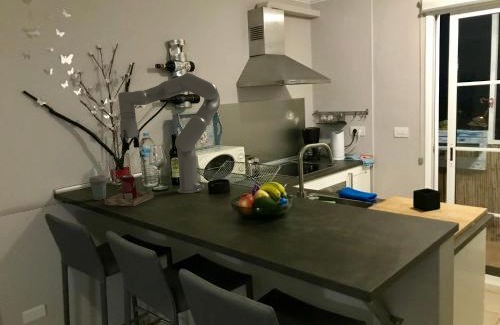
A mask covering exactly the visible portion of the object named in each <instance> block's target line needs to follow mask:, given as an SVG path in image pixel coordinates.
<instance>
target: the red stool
mask: <svg viewBox="0 0 500 325" xmlns="http://www.w3.org/2000/svg"><path fill="white" fill-rule="evenodd" d="M120 182H121V184H120V185H121V193H122V194H123V199H126V200H134V199H136V198H137V192H138V191H137V184H136V177H134V174H125V175H122V178H121V179H120Z"/></svg>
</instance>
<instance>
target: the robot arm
mask: <svg viewBox="0 0 500 325" xmlns="http://www.w3.org/2000/svg"><path fill="white" fill-rule="evenodd" d="M186 92H189V93H191V94H194V95H196V96H199V97H200V98H203V103H202V104H201V106H200V107H199V108H198V110H197V111H196V112H195V114H194V115H193V116H192V117H191V118H190V119H189V120H188V122H187V123H186V124H185V125H184V127H183V128H182V130H181V131H180V133H179V134H178V135H177V136H176V137H175V141H174V142H175V143H174V145H175V147H176V149H177V150H176V151H177V165H178V177H179V178H178V179H179V188H178V189H177V193H179V194H194V193H198V192H200V191H201V190H202V189H205V183H202V184H201V183H200V181H198V171H197V170H198V168H197V154H196V144H197V143H198V141H199V140H200V139H201V137H202V136H203V135H204V133H205V131H206V130H207V126H208V125H209V123H210V122H211V121H212V120H213V118H214V116H215V115H216V114H217V112H218V110H219V108H220V104H221V98H220V94H219V91H218V87H217V86H216V84H214V83H212V82H210V81H208V80H206V79H204V78H201V77H199V76H197V75H195V74H193V73H189V72H186V73H183V74H182V75H180V76H177V77H174V78H172V79H168V80H167V79H166V80H164V81H162V82H161V83H160V84H158V85H156V86H153V87H150V88H148V89H143V90H135V91H121V92H119V93H118V94H117V99H118V106H119V114H120V122H119V123H120V124H119V130H120V132H119V138H120V140H121V143H122V146H123V147H122V148H123V151H130V143H129V140H130V139H133V140H132V142H133V143H132V144H133V148H134V149H138V148H140V134H141V131H140V130H139V128H138V123H137V118H136V116H137V115H136V110H135V109H136V108H135V106H146V105H148V104H153V103H155V102H158V101H159V102H160V101H162V100H164V99H169V98H172V97H175V96H177V95H181V94H184V93H186Z"/></svg>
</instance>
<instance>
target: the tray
mask: <svg viewBox="0 0 500 325" xmlns="http://www.w3.org/2000/svg"><path fill="white" fill-rule="evenodd" d="M136 192H137V198H136V199H134V200H126V199H123V194H122V192H121V193H118V194H115V195H113V196H110V197H106V199H104V200H103V201H104V206H123V207H124V206H125V207H126V206H127V207H136V206H137V205H140V204H142V203H144V202H147V201H149V200H151V199H154V198H155V195H154V191H136Z"/></svg>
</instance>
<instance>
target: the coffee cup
mask: <svg viewBox="0 0 500 325" xmlns="http://www.w3.org/2000/svg"><path fill="white" fill-rule="evenodd" d="M88 182H89V184H90V188H91V192H92V196H93V200H94V201H95V200H100V201H103V200H102V199H105V198H106V199H107V177H106V175H102V174H101V175H94V176H91V177H89V181H88Z"/></svg>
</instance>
